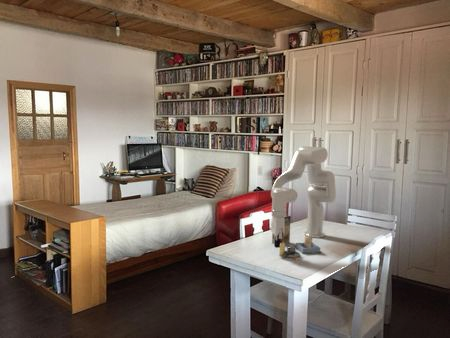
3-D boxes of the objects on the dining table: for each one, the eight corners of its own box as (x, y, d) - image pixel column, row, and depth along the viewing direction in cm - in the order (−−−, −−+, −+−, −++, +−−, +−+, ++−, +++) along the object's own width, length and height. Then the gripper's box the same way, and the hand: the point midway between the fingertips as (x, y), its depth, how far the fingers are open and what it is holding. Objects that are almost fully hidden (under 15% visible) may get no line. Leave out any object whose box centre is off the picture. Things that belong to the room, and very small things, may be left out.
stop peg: (302, 248, 216) (303, 235, 215) (309, 247, 217) (310, 235, 216) (306, 250, 212) (307, 237, 211) (312, 250, 213) (313, 237, 212)
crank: (290, 251, 209) (291, 238, 208) (297, 253, 206) (297, 240, 205) (277, 255, 202) (277, 242, 201) (283, 257, 199) (284, 244, 198)
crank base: (280, 252, 210) (280, 250, 209) (295, 252, 211) (296, 250, 211) (288, 260, 198) (288, 258, 198) (304, 259, 200) (304, 257, 199)
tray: (295, 248, 218) (296, 243, 218) (312, 247, 220) (312, 242, 220) (302, 253, 208) (303, 248, 208) (320, 253, 210) (320, 247, 210)
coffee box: (280, 245, 222) (281, 218, 221) (271, 243, 227) (272, 216, 225) (289, 242, 229) (291, 215, 227) (281, 240, 233) (282, 214, 232)
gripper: (268, 210, 211) (267, 243, 213) (275, 216, 196) (274, 251, 198) (281, 210, 212) (280, 242, 214) (290, 216, 197) (288, 251, 199)
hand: (277, 247), depth 206 cm, fingers closed
